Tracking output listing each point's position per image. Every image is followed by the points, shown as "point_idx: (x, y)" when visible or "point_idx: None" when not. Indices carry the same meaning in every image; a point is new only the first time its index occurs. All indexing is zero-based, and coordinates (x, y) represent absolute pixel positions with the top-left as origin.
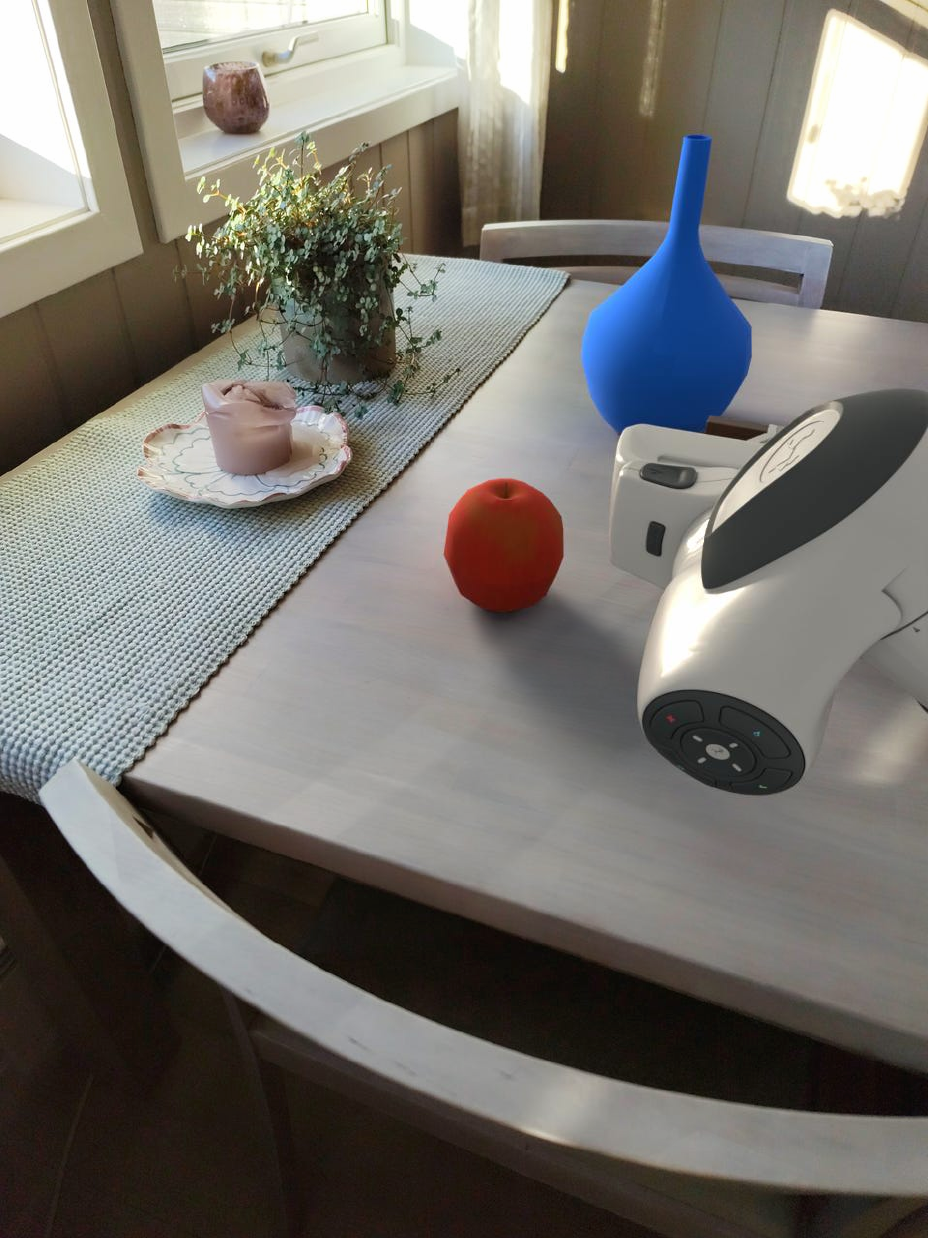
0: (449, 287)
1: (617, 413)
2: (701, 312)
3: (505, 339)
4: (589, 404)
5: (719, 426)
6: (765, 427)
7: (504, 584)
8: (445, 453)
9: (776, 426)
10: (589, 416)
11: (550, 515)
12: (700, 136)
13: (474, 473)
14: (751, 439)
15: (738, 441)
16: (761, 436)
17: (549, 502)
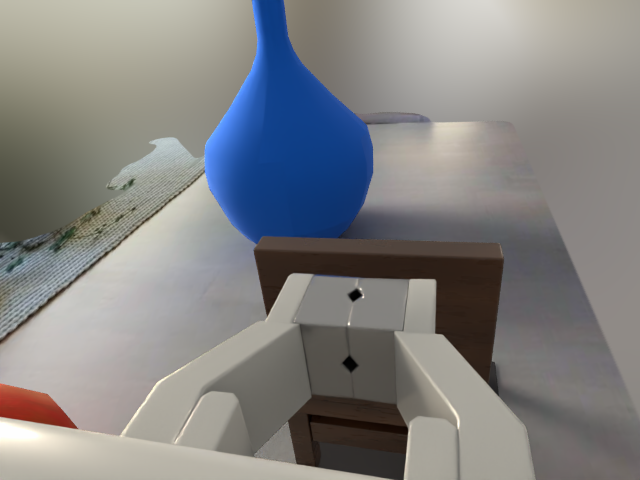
0: (159, 146)
1: (247, 230)
2: (305, 114)
3: (186, 177)
4: None
5: (276, 255)
6: (356, 245)
7: None
8: (74, 299)
9: (308, 281)
10: (239, 233)
11: None
12: None
13: (93, 320)
14: (181, 371)
15: (13, 458)
16: (234, 343)
17: None
